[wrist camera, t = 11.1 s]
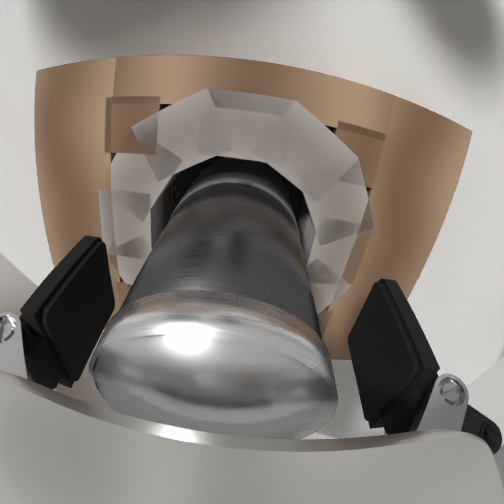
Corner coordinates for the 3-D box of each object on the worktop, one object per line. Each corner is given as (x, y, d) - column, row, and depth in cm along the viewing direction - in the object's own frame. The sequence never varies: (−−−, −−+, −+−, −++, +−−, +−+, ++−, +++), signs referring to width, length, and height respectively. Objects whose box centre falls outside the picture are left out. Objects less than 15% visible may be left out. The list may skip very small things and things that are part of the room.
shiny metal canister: (300, 163, 15) (384, 345, 5) (279, 255, 18) (297, 454, 8) (191, 148, 14) (56, 300, 4) (185, 243, 17) (118, 431, 7)
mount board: (430, 118, 13) (472, 131, 9) (357, 318, 21) (370, 359, 17) (80, 69, 12) (36, 70, 8) (93, 283, 19) (70, 319, 16)
